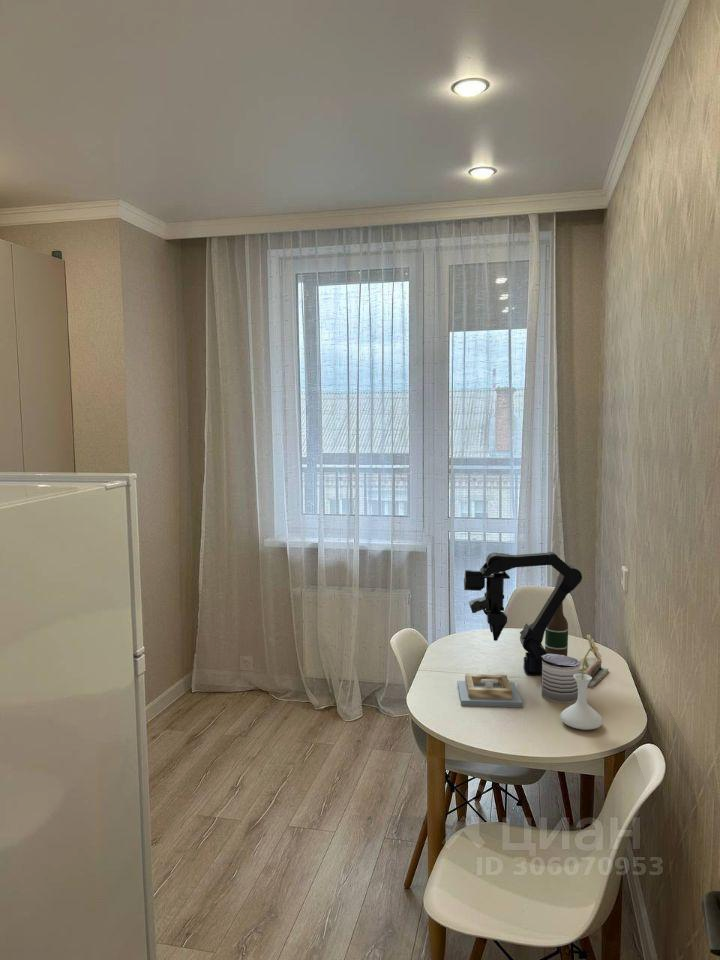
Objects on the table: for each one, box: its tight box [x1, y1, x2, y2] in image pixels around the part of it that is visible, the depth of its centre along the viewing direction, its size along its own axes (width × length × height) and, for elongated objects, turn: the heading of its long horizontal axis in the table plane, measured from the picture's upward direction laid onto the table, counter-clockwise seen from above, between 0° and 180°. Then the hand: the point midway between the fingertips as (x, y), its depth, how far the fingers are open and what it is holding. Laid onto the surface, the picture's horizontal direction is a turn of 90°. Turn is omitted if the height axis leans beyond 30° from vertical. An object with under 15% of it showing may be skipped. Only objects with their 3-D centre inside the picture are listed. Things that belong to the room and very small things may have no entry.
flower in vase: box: [559, 634, 604, 731], centre depth 194 cm, size 13×11×25 cm
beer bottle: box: [544, 601, 569, 656], centre depth 248 cm, size 8×8×24 cm
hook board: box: [456, 679, 523, 708], centre depth 214 cm, size 18×16×6 cm
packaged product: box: [578, 657, 609, 687], centre depth 232 cm, size 18×5×10 cm
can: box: [541, 654, 581, 704], centre depth 214 cm, size 11×11×12 cm
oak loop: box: [464, 673, 512, 699], centre depth 215 cm, size 13×13×2 cm
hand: (493, 636), depth 235 cm, fingers open, 9 cm apart
